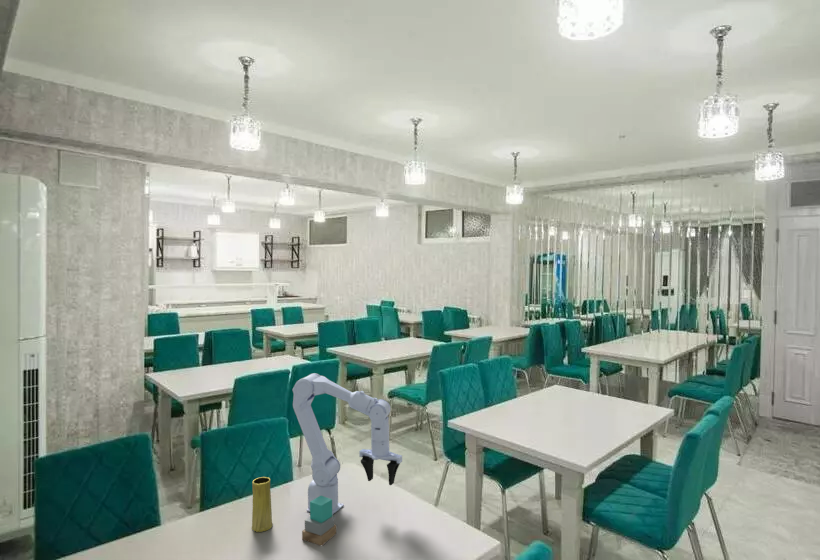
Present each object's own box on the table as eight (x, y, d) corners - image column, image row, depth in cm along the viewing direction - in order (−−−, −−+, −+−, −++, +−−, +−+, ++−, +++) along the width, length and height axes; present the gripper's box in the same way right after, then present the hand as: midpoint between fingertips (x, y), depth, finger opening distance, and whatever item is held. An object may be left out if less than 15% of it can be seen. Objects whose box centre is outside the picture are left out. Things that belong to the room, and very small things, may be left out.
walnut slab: (302, 541, 135) (302, 531, 135) (317, 529, 141) (317, 519, 141) (321, 547, 132) (321, 536, 132) (336, 534, 138) (336, 524, 138)
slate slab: (304, 530, 135) (304, 520, 135) (318, 520, 140) (318, 510, 140) (321, 535, 132) (320, 525, 132) (334, 525, 137) (334, 515, 137)
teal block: (310, 518, 136) (309, 501, 136) (321, 512, 140) (320, 495, 140) (321, 523, 133) (321, 505, 133) (332, 516, 137) (332, 499, 137)
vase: (247, 527, 142) (247, 480, 142) (266, 519, 146) (265, 474, 146) (258, 534, 138) (257, 486, 138) (276, 526, 142) (275, 480, 142)
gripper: (354, 440, 148) (354, 483, 148) (394, 446, 142) (395, 491, 142) (365, 433, 154) (366, 474, 154) (404, 439, 148) (405, 481, 148)
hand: (380, 481), depth 149 cm, fingers open, 7 cm apart
